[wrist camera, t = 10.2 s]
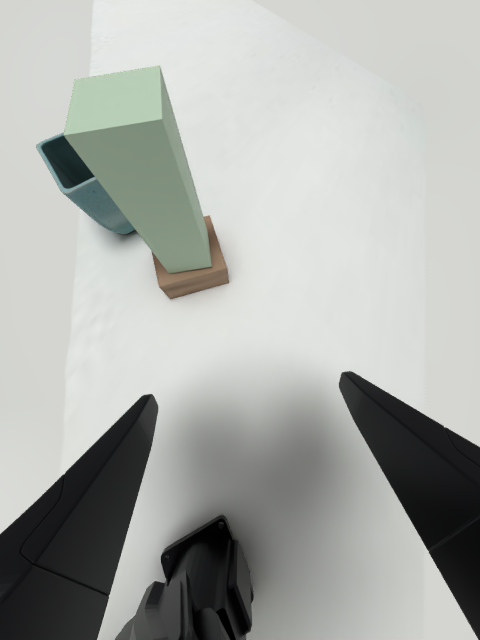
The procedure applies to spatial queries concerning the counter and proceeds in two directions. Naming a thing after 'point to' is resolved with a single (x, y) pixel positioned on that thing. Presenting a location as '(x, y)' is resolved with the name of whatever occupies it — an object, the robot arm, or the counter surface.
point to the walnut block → (194, 271)
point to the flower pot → (81, 184)
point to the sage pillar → (141, 161)
